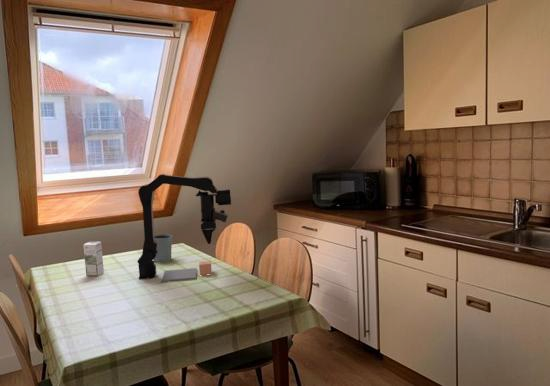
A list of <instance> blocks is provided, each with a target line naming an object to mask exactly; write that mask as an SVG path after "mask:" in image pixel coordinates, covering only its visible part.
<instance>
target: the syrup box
mask: <svg viewBox="0 0 550 386" xmlns="http://www.w3.org/2000/svg"><path fill="white" fill-rule="evenodd" d="M82 248H83V252H84V253H83V254H84V265H85V274H86V277H99V276H100V275H102V274H104V273H105V268H104V259H103V258H104V257H103V249H102V248H103V247H102V241H87V242H85V243H84V244H83V247H82Z"/></svg>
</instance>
